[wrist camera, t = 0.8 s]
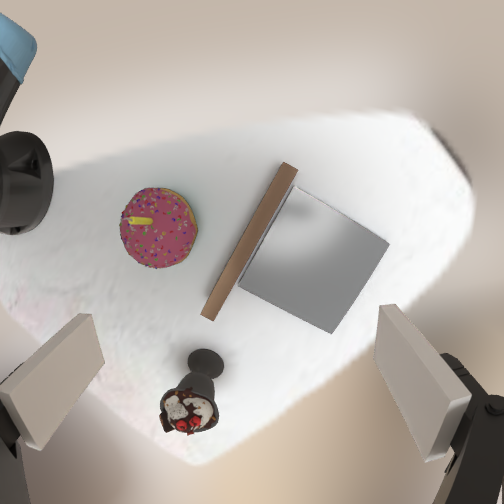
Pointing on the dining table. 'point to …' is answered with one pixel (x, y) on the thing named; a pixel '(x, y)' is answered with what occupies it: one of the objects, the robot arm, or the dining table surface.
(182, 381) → the sundae
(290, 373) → the dining table surface
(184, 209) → the cupcake
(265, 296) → the board
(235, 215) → the dining table surface
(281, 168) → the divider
